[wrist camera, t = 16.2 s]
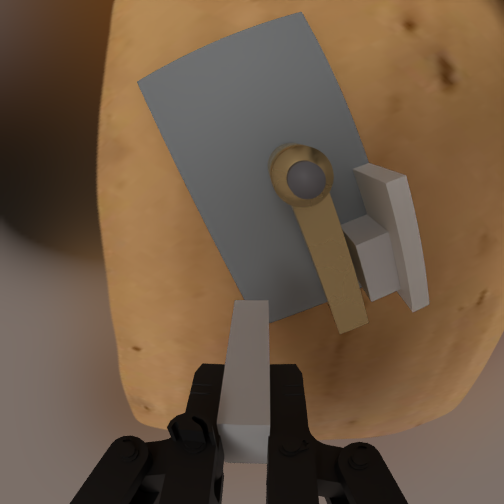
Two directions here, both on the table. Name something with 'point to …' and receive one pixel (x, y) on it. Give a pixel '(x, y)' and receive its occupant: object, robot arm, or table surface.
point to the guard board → (241, 140)
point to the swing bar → (321, 235)
